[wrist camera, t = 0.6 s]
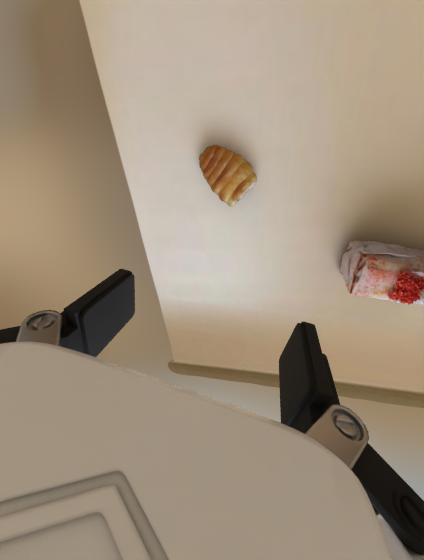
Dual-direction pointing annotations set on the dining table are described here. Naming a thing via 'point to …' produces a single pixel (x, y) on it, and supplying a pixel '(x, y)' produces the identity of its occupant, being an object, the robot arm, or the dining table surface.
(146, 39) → the dining table surface
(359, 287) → the food item
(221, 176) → the pastry
